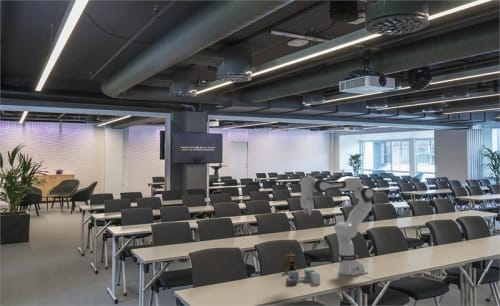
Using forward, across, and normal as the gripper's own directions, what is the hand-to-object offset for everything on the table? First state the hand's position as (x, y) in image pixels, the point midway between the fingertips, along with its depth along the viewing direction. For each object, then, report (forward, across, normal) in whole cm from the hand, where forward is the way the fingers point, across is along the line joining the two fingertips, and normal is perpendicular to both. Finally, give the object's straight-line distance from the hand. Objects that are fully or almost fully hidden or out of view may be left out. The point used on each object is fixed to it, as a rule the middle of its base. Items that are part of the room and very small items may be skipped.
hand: (307, 214), depth 303 cm
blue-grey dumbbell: (+47, -10, +10) cm, 49 cm away
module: (+47, -19, +3) cm, 51 cm away
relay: (+48, -17, +21) cm, 55 cm away
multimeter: (+48, +16, +9) cm, 51 cm away
